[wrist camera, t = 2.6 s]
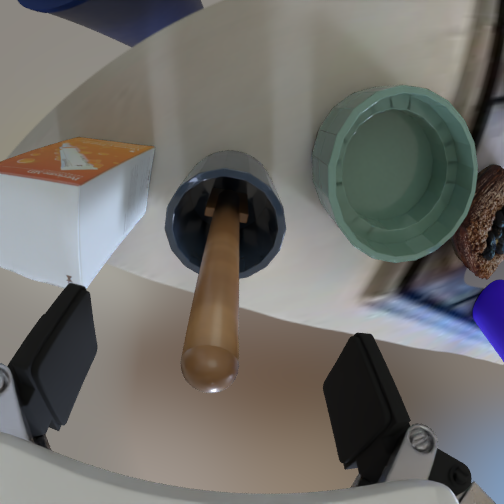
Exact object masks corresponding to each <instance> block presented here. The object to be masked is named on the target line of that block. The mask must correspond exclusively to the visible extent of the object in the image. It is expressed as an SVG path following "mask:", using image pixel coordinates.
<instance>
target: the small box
mask: <svg viewBox="0 0 504 504" xmlns="http://www.w3.org/2000/svg"><path fill="white" fill-rule="evenodd" d="M154 151H155V147H154V146H146V145H137V144H129V143H122V142H114V141H106V140H98V139H90V138H82V137H76V138H73V139H69V140H65V141H62V142H58V143H55V144H52V145H48V146H45V147H42V148H38V149H35V150H32V151H29V152H26V153H23V154H20V155H18V156H15V157H12V158H9V159H6V160H4V161H1V162H0V267H2V268H5V269H7V270H10V271H12V272H15V273H18V274H20V275H22V276H24V277H27V278H29V279H32V280H35V281H40V282H44V283H48V284H51V285H55V286H58V287H62V288H65V287H66V286H67V285H68V284H69V283H74V284H78V285H82V286H85V288H86V289H87V287H88V285H89V284H90V283H91V282H92V280H93V279H94V277H95V276H96V275H97V273H98V272H99V270H100V269H101V268H102V266H103V265H104V264H105V262H106V261H107V260H108V259H109V257H110V256H111V255H112V253H113V252H114V251H115V249H116V248H117V247H118V246H119V245H120V243H121V242H122V241H123V240H124V238H125V237H126V236H127V235H128V233H129V232H130V231H131V230H132V228H133V227H134V226H135V225H136V224H137V222H138V221H139V220H140V219H141V217H142V216H143V215H144V214H145V213H146V205H147V197H148V190H149V182H150V175H151V168H152V163H153V157H154Z"/></svg>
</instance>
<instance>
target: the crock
mask: <svg viewBox="0 0 504 504" xmlns="http://www.w3.org/2000/svg"><path fill="white" fill-rule="evenodd" d="M212 188H217V189H223V190H233V191H235V192H238V193H243V194H247V198H248V213H249V216H248V220H247V223H242V222H239V279H240V278H246V277H249V276H251V275H252V274H254V273H256V272H258V271H260V270H261V269H263V268H265V267H266V266H267V265H268V264H269V263H270V262H271V260H272V259H273V258H274V257H275V256H276V254H277V253H278V252H279V251H280V249H281V245H282V242H283V238H284V235H285V232H286V224H285V217H284V210H283V206H282V203H281V201H280V198H279V196H278V194H277V191H276V189H275V186H274V184H273V181H272V179H271V177H270V176H269V174H268V172H267V170H266V169H265V168H264V166H263V165H262V164H261V163H260V162H259V161H258V160H256V159H255V158H254V157H252V156H250V155H248V154H246V153H243V152H239V151H233V150H226V151H220V152H216V153H213V154H211V155H209V156H207V157H205V158H204V159H203V160H201V161H200V162H199V163H197V164H196V166H195V167H194V168H193V169H192V171H191V172H190V173H189V175H188V176H187V177H186V178H185V180H184V181H183V182H182V184H181V185H180V186H179V188H178V189H177V191H176V193H175V194H174V196H173V198H172V199H171V201H170V203H169V204H168V207H167V212H166V221H165V231H166V235H167V238H168V241H169V244H170V247H171V249H172V251H173V252H174V254H175V255H176V256H177V257H178V258H179V260H180V261H181V262H182V263H183V264H184V266H186V267H187V268H189V269H191V270H193V271H194V272H196V273H198V274H199V271H200V267H201V262H202V258H203V254H204V249H205V245H206V241H207V237H208V233H209V229H210V224H211V220H212V217H210V216H205V215H204V213H205V208H206V204H207V202H208V199H209V196H210V193H211V190H212Z"/></svg>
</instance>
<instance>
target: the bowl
mask: <svg viewBox="0 0 504 504" xmlns="http://www.w3.org/2000/svg"><path fill="white" fill-rule="evenodd" d="M312 170H313V183H314V185H315V188H316V191H317V194H318V196H319V199H320V202H321V204H322V206H323V207H324V208H325V210H326V211H327V212H328V214H329V215H330V216H331V217H332V219H333V220H334V221H335V223H336V224H337V225H338V227H339V228H340V229H341V231H342V232H343V233H344V235H345V236H346V237H347V239H348V240H349V241H350V243H351V244H352V245H353V246H354V247H356V248H357V249H359V250H360V251H362V252H364V253H365V254H367V255H368V256H370V257H371V258H374V259H379V260H383V261H388V262H393V263H397V262H405V261H412V260H417V259H419V258H421V257H423V256H425V255H427V254H430V253H432V252H434V251H436V250H437V249H438V248H439V247H441V246H442V245H443V244H444V243H445V242H446V241H447V240H449V239H450V238H451V237H452V236H453V235H454V234H455V232H456V231H457V229H458V228H459V226H460V225H461V223H462V222H463V220H464V219H465V217H466V216H467V214H468V211H469V209H470V206H471V203H472V200H473V198H474V195H475V191H476V182H477V173H478V165H477V157H476V150H475V144H474V141H473V138H472V136H471V134H470V131H469V129H468V127H467V124H466V122H465V120H464V119H463V118H462V116H461V115H460V114H459V113H458V112H457V110H456V109H455V108H454V107H453V106H452V105H451V104H450V102H449V101H447V100H446V99H444V98H442V97H441V96H439V95H437V94H436V93H434V92H432V91H430V90H429V89H426V88H420V87H414V86H407V85H393V86H381V87H373V88H369V89H365V90H362V91H358V92H355V93H352V94H351V95H349V96H348V97H347V98H345V99H344V100H343V101H341V102H340V103H339V104H337V105H336V106H335V107H333V109H332V110H331V112H330V113H329V115H328V116H327V118H326V119H325V121H324V122H323V124H322V125H321V127H320V128H319V130H318V134H317V138H316V142H315V145H314V149H313V153H312Z"/></svg>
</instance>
